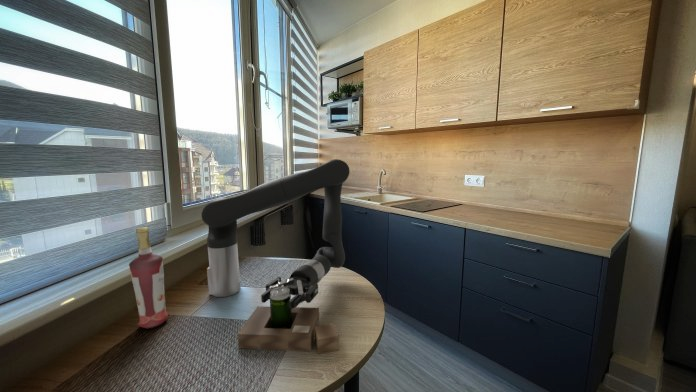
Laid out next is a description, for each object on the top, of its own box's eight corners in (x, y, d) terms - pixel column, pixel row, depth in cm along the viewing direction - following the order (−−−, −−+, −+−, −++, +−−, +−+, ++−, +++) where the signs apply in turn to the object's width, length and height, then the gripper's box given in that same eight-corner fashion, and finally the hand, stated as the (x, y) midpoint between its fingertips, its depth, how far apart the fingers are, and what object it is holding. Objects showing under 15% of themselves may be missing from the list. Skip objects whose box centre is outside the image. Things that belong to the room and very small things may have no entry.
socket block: (238, 348, 64) (237, 333, 63) (258, 318, 76) (257, 305, 75) (310, 351, 63) (310, 335, 62) (319, 320, 74) (318, 307, 74)
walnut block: (318, 354, 62) (317, 339, 61) (315, 340, 66) (314, 326, 66) (338, 350, 63) (338, 335, 62) (334, 337, 68) (333, 323, 67)
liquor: (167, 326, 72) (156, 229, 68) (134, 335, 69) (120, 233, 65) (171, 313, 79) (160, 223, 75) (141, 320, 75) (128, 227, 71)
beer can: (294, 336, 68) (292, 293, 66) (273, 342, 66) (271, 298, 64) (289, 324, 73) (288, 284, 71) (270, 330, 71) (267, 288, 69)
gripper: (288, 261, 83) (252, 284, 68) (328, 267, 78) (299, 293, 63) (289, 283, 84) (254, 310, 69) (328, 291, 79) (300, 322, 64)
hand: (275, 302), depth 66 cm, fingers open, 8 cm apart
